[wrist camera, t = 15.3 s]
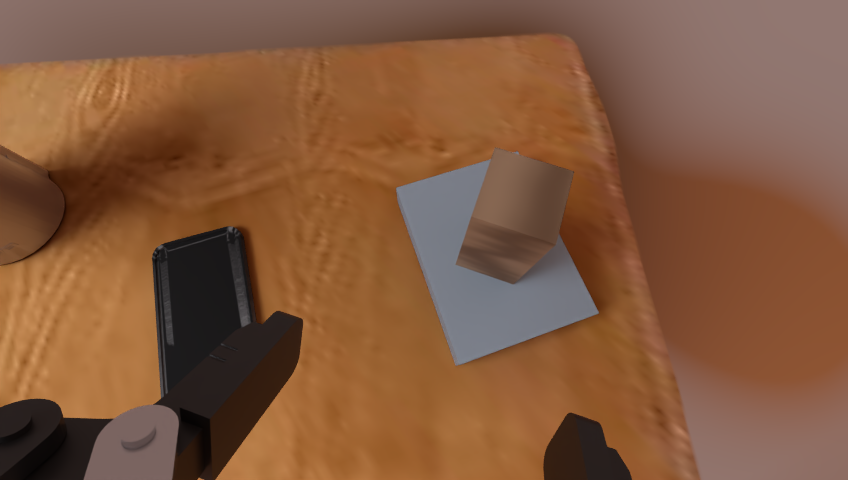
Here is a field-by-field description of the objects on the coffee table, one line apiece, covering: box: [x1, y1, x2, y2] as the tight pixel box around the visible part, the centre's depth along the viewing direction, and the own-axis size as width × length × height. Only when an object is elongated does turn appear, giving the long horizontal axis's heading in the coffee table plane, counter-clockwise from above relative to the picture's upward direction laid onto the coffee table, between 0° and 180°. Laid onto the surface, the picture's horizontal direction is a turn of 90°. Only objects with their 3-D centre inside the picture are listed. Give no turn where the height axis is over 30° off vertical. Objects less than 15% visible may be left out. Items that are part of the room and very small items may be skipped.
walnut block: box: [455, 147, 574, 284], centre depth 26 cm, size 5×5×10 cm
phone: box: [152, 226, 257, 398], centre depth 32 cm, size 8×1×15 cm
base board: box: [396, 151, 599, 365], centre depth 32 cm, size 16×12×3 cm
